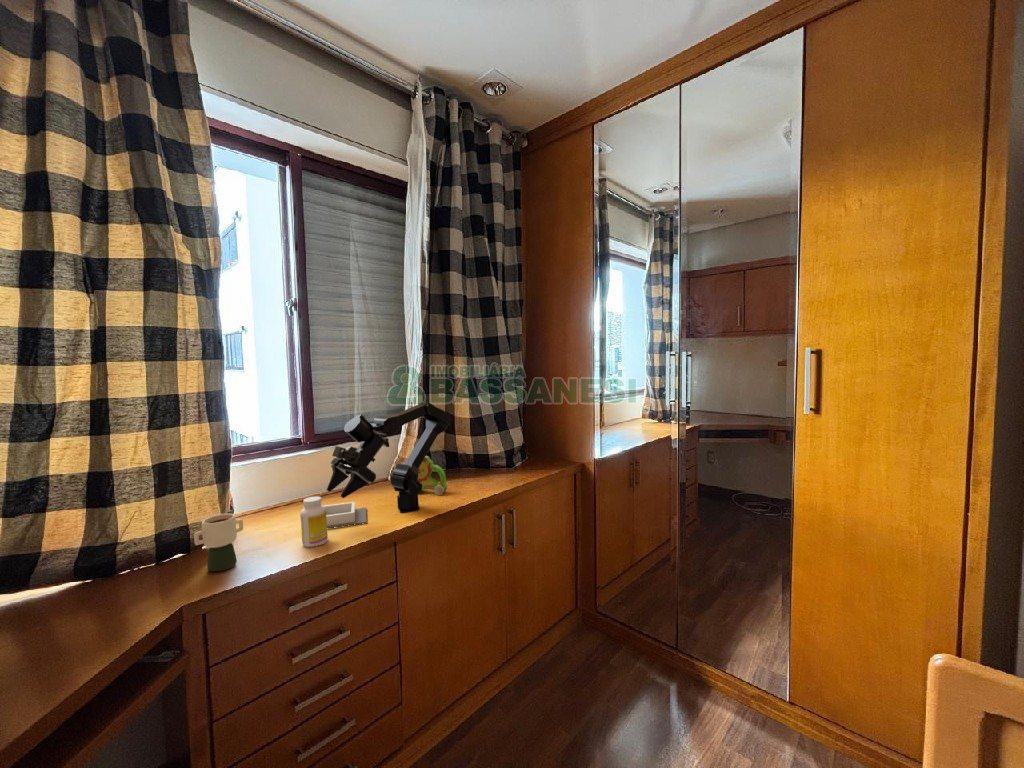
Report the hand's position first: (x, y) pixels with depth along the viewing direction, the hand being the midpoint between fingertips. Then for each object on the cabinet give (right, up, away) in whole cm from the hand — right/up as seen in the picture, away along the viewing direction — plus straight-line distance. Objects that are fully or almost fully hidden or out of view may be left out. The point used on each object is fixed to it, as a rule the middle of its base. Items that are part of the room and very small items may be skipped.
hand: (334, 494), depth 126 cm
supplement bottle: (-4, -13, -4) cm, 14 cm away
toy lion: (+20, -10, +38) cm, 44 cm away
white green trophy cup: (-22, -15, -17) cm, 31 cm away
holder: (-4, -12, +13) cm, 18 cm away
